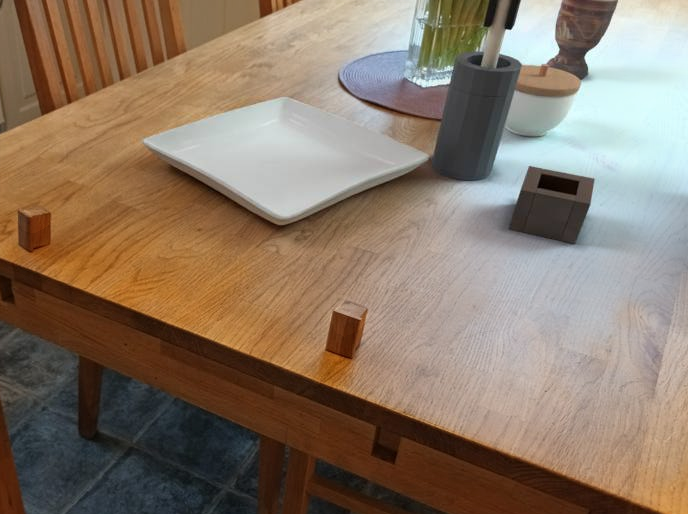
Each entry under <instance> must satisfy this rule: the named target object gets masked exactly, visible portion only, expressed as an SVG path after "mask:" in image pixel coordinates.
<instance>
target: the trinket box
mask: <svg viewBox="0 0 688 514" xmlns="http://www.w3.org/2000/svg"><path fill="white" fill-rule="evenodd" d="M581 85H582V81H581V79H579V78H578V77H576V76H575V75H573V74H571V73H568V72H566V71H563V70H559V69H555V68H550V67H549V65H548V64H546V63H542V64H541V65H532V64H531V65H530V64H527V65H526V64H525V65H523V64H522V67H521V71H520V74H519V78H518V81H517V85H516V88H515V92H514V95H513V99H512V102H511V106H510V109H509V113H508V116H507V120H506V123H505V127H504V129H505V130H506V131H509V132H511V133H513V134H515V135H519V136H522V137H523V136H524V137H534V138H535V137H536V138H537V137H541V136H545V135H547V133H548V132H550V131H551V130H553V129H555V128H556V127H558V126H559V125H560V124H561V123H562V122H563V121H564V120H565V119H566V117H567V115H568V114H569V112H570V110H571V109H572V106H573V105H574V102H575V100H576V98H577V94H578V92H579V90H580V88H581Z"/></svg>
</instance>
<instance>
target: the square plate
mask: <svg viewBox="0 0 688 514" xmlns="http://www.w3.org/2000/svg"><path fill="white" fill-rule="evenodd" d="M141 143H142V145H143V146H144V147H146V149H148V151H150V153H152V154H153V155H154V156H156V157H158V158H159V159H161V160H162V161H163V162H165V163H167V164H169V165H171V166H172V167H174V168H176V169H178V170H180V171H182V172H184V173H186V174H187V175H189V176H191V177H193V178H195V179H196V180H198V181H199V182H202V183H203V184H205V185H207V186H209V187H211V188H212V189H214V190H215V191H217V192H219V193H221V194H222V195H224V196H225V197H227V198H229V199H230V200H232V201H234V202H235V203H237V204H238V205H240V206H241V207H243V208H245V209H247V210H248V211H249V212H252V213H254V214H255V215H257V216H258V217H261V218H263V219H265V220H266V221H268V222H271V223H273V224H275V225H277V226H285V225H288V224H293V223H294V222H297V221H300V220H302V219H305V218H307V217H309V216H311V215H314V214H315V213H317V212H319V211H321V210H324V209H326V208H329V207H330V206H332V205H334V204H337V203H338V202H340V201H343V200H345V199H347V198H349V197H351V196H353V195H356V194H359V193H361V192H364V191H366V190H369V189H371V188H373V187H376V186H379V185H382V184H384V183H386V182H390V181H392V180H395V179H396V178H397V179H398V178H399V177H401V176H403V175H405V174H406V175H407V174H408V173H410V172H412V171H414V170H415V169H417V168H418V167H420V166H421V165H422V164H424V163H426V162H427V161H428V160H429V158H430V154H428V153H427V152H425V151H422V150H419V149H418V148H415V147H412V146H411V145H409V144H406V143H403V142H401V141H399V140H397V139H395V138H392V137H390V136H388V135H385V134H383V133H381V132H379V131H376V130H374V129H371V128H369V127H366V126H364V125H361V124H359V123H357V122H354V121H352V120H350V119H347V118H344V117H341V116H339V115H336V114H334V113H331V112H328V111H326V110H323V109H321V108H318V107H315V106H313V105H310V104H306V103H303V102H301V101H299V100H296V99H293V98H290V97H288V96H287V97H286V96H281V97H277V98H273V99H270V100H266V101H262V102H258V103H253V104H250V105H246V106H243V107H239V108H235V109H232V110H228V111H225V112H222V113H218V114H215V115H212V116H208V117H206V118H202V119H199V120H196V121H193V122H189V123H186V124H183V125H180V126H177V127H174V128H171V129H168V130H166V131H165V130H164V131H162V132H160V133H156V134H154V135H153V134H152V135H151V136H148V137H146V138H143V139H142V140H141Z"/></svg>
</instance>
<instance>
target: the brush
mask: <svg viewBox="0 0 688 514" xmlns="http://www.w3.org/2000/svg"><path fill="white" fill-rule="evenodd" d="M511 2H512V0H497V3H496V7H495V11H494V15H493V19H492V23H491V26H490V27H489V30H488V31H489V32H488V35H487V39H486V42H485V43H486V44H485V47H484V51H483V52H484V55H483V59H482V63H481V67H487V68H496V65H497V61H498V58H499V54H501V50H502V46H503V42H504V38H505V34H506V29H505V26H506V22H507V18H508V14H509V10H510V6H511Z"/></svg>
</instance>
